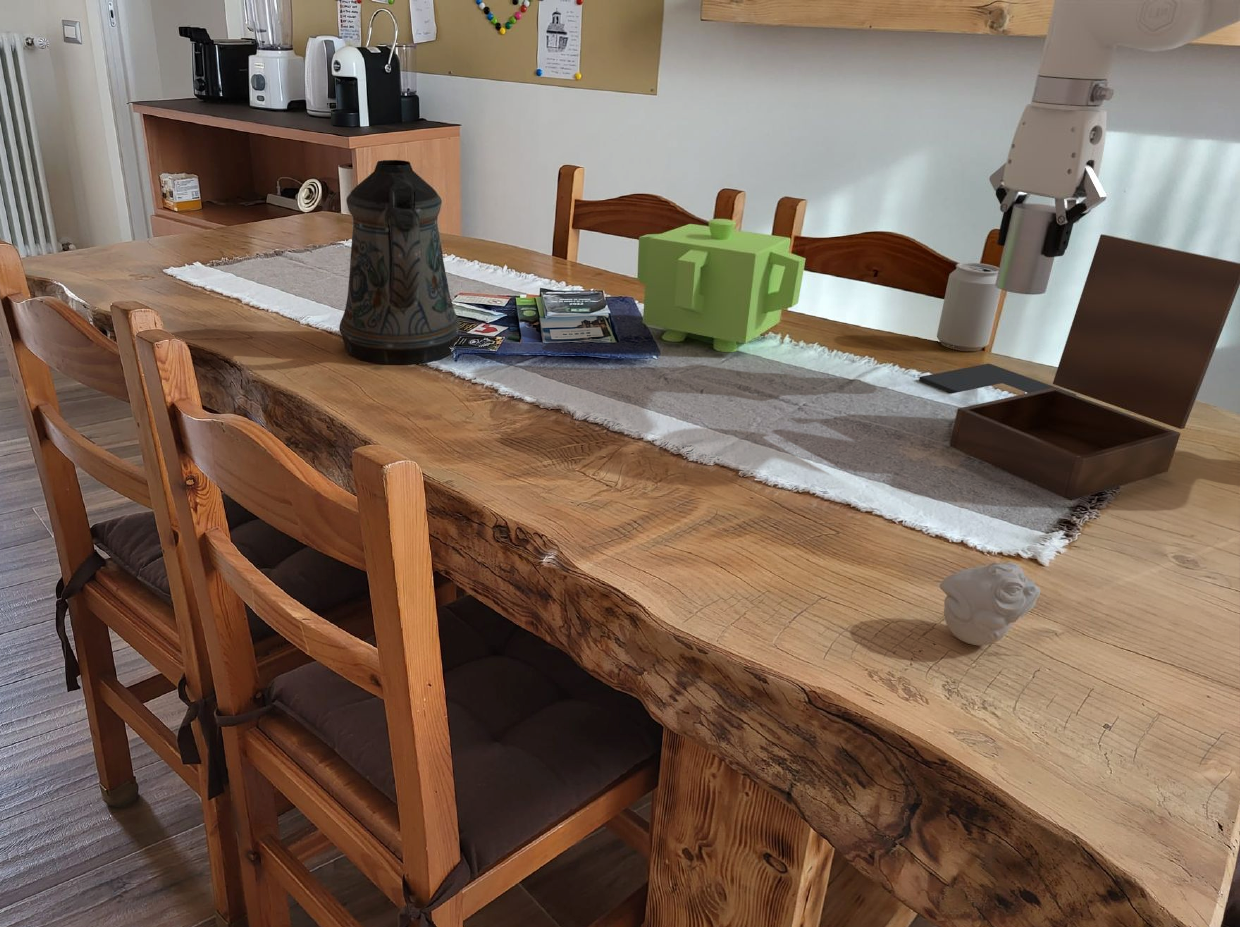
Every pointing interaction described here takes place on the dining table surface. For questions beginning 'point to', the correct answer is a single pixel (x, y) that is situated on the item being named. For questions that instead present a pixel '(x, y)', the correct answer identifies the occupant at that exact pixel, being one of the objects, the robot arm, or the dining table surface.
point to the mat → (983, 379)
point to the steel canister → (1027, 250)
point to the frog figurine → (987, 601)
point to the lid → (1147, 327)
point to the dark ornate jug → (397, 272)
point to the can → (969, 307)
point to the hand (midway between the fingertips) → (1030, 248)
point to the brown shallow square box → (1064, 442)
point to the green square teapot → (717, 282)
